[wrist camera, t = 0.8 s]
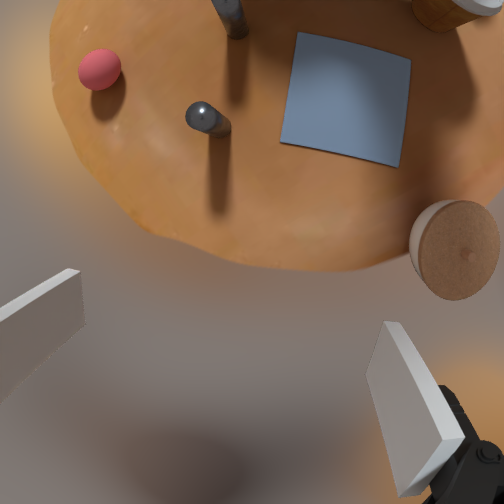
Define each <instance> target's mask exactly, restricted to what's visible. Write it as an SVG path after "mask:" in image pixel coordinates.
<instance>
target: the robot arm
mask: <svg viewBox="0 0 504 504" xmlns="http://www.w3.org/2000/svg"><path fill="white" fill-rule="evenodd" d="M84 325H86V323H85V315H84V305H83V295H82V282H81V271H77V270H73V269H69V268H68V269H66V270H64V271H62V272H61V273H59V274H57V275H55V276H54V277H52V278H50V279H49V280H47V281H45V282H43V283H42V284H40V285H38V286H36V287H35V288H33V289H31V290H30V291H28V292H26V293H24V294H23V295H21V296H20V297H18V298H16V299H14V300H13V301H11V302H9V303H8V304H6V305H5V306H3V307H1V308H0V404H1V403H2V402H3V401H4V400H5V399H6V398H7V397H8V396H9V395H10V394H11V393H12V392H13V391H14V390H15V389H16V388H17V387H18V386H19V385H20V384H21V383H22V382H24V381H25V379H27V378H28V377H29V376H30V375H31V374H32V373H33V372H34V371H35V370H36V369H37V368H38V367H39V366H40V365H42V364H43V363H44V362H45V361H46V360H47V359H48V358H49V357H50V356H51V355H52V354H53V353H55V352H56V350H58V349H59V348H60V347H61V346H62V345H63V344H64V343H66V342H67V341H68V340H69V339H70V338H71V337H72V336H73V335H74V334H76V333H77V332H78V331H79V330H80V329H81V328H82V327H83V326H84ZM365 376H366V379H367V382H368V386H369V389H370V392H371V396H372V399H373V403H374V406H375V410H376V413H377V416H378V420H379V424H380V427H381V431H382V434H383V438H384V442H385V445H386V449H387V453H388V457H389V461H390V465H391V468H392V472H393V477H394V481H395V485H396V489H397V494H398V497H399V498H400V497H409V496H416V495H420V494H421V493H422V492H423V491H424V490H425V488H426V487H427V486H428V485H430V488H431V491H432V494H431V495H430V496H429V497H428V498H427V499H426V500H425V501H424V502H423V503H422V504H504V455H503V454H502V451H501V450H500V449H499V448H498V447H497V446H496V445H495V444H493V443H491V442H489V441H485V440H483V441H482V440H481V441H480V439H479V437H478V435H477V433H476V431H475V430H474V428H473V426H472V424H471V422H470V420H469V419H468V417H467V415H466V414H464V410H463V408H462V407H461V406H460V403H459V401H458V399H457V398H456V396H455V394H454V393H453V392H452V391H451V390H449V389H448V388H447V387H446V386H445V385H437V383H436V381H435V380H434V378H433V376H432V374H431V373H430V371H429V369H428V368H427V366H426V364H425V363H424V361H423V359H422V358H421V356H420V354H419V353H418V351H417V349H416V347H415V346H414V344H413V343H412V341H411V339H410V338H409V336H408V334H407V333H406V331H405V330H404V328H403V326H402V325H401V323H400V322H392V321H383V324H382V327H381V330H380V333H379V336H378V339H377V342H376V345H375V348H374V351H373V354H372V357H371V360H370V362H369V365H368V368H367V371H366V373H365Z"/></svg>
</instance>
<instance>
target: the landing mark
mask: <svg viewBox="0 0 504 504" xmlns="http://www.w3.org/2000/svg"><path fill="white" fill-rule="evenodd" d="M410 70H411V60H410V59H407V58H404V57H401V56H398V55H395V54H391V53H388V52H385V51H381V50H378V49H374V48H371V47H367V46H363V45H359V44H355V43H351V42H347V41H343V40H338V39H334V38H329V37H324V36H319V35H314V34H308V33H302V32H298V34H297V41H296V47H295V53H294V59H293V66H292V72H291V78H290V84H289V91H288V97H287V103H286V109H285V115H284V121H283V127H282V133H281V139H280V142H284V143H290V144H295V145H301V146H306V147H311V148H316V149H321V150H326V151H331V152H336V153H340V154H345V155H349V156H354V157H358V158H362V159H366V160H370V161H374V162H378V163H382V164H386V165H390V166H394V167H397V168H398V167H399V161H400V155H401V149H402V142H403V135H404V128H405V120H406V112H407V103H408V93H409V82H410Z"/></svg>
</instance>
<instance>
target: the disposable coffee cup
mask: <svg viewBox="0 0 504 504" xmlns="http://www.w3.org/2000/svg"><path fill="white" fill-rule="evenodd" d="M503 2H504V0H412V3H411V6H412V10H413V13H414V15H415V16H416V18H417V19H418V20H419V21H420V22H421V23H422V24H423V25H424V26H425V27H427V28H429V29H430V30H433V31H435V32H441V33H442V32H447V31H449V30H451V29H453V28H456V27H458V26H460V25H463V24H465V23H467V22H470V21H472V20H475V19H477V18H479V17H482V16H492V15H495V14H497V13H499V12H500V10H501V8H502V4H503Z"/></svg>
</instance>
